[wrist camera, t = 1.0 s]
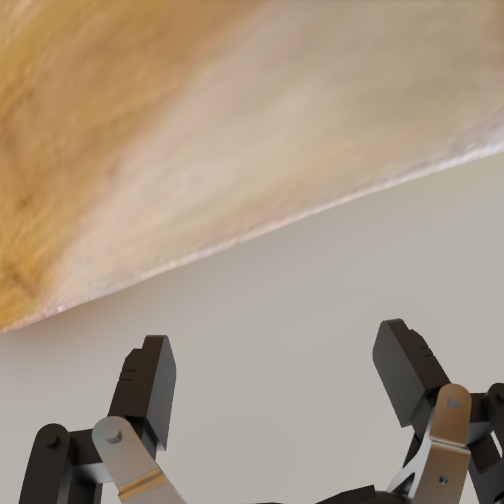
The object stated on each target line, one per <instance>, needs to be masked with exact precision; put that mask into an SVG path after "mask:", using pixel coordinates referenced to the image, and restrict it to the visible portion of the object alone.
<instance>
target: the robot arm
mask: <svg viewBox="0 0 504 504" xmlns="http://www.w3.org/2000/svg"><path fill="white" fill-rule="evenodd" d="M373 362H374V365H375V367H376V369H377V371H378V373H379V376H380V378H381V380H382V382H383V385H384V387H385V389H386V392H387V394H388V396H389V398H390V401H391V403H392V406H393V408H394V410H395V413H396V415H397V417H398V420H399V422H400V425H401V427H402V428H403V427H406V426H409V425H412V426H413V429H414V430H413V432H412V433H411V437H410V439H409V442H408V445H407V448H406V451H405V453H404V456H403V459H402V461H401V464H400V466H399V469H398V471H397V473H396V475H395V477H394V478H393V480H392V481H391V483H390V485H389V486H388V488H387V490H386V491H375V488H374V485H370V486H366V487H362V488H358V489H354V490H349V491H345V492H341V493H339V494H337V495H335V496H333V497H330V498H328V499H326V500H323V501H321V502H318V503H316V504H459V501H460V497H461V494H462V490H463V487H464V483H465V478H466V475H467V470H468V471H469V473H470V476H471V479H472V482H473V485H474V488H475V491H476V494H477V497H478V500H479V504H504V383H495V384H493V385H492V386H491V387H490V389H489V390H488V392H487V393H469V392H468V391H467V389H465V388H464V387H462V386H461V385H458V384H452V383H451V382H450V381H449V379H448V377H447V375H446V374H445V372H444V370H443V369H442V367H441V365H440V364H439V362H438V361H437V359H436V357H435V356H433V353H432V351H431V349H430V348H428V345H427V343H426V342H425V340H424V339H423V337H422V336H420V335H419V334H418V333H417V332H415V331H414V330H413V329H412V330H409V329H408V327H407V326H406V324H405V323H404V321H403V320H402V319H400V318H399V319H393V320H386V321H382V323H381V324H380V328H379V331H378V335H377V338H376V341H375V344H374V348H373ZM175 381H176V365H175V361H174V357H173V353H172V350H171V346H170V343H169V339H168V337H167V335H147V336H146V337H145V340H144V343H143V347H142V349H133V350H132V351H131V353H130V354H129V355H128V356H127V357H126V359H125V362H124V364H123V367H122V372H121V374H120V377H119V381H118V383H117V386H116V389H115V393H114V396H113V399H112V403H111V406H110V409H109V413H108V415H107V417H106V418H103V419H101V420H100V421H99V422H98V423H97V424H96V425H95V426H94V428H92V429H88V430H81V431H73V432H68V431H67V430H66V429H65V427H63V426H62V425H59V424H55V423H54V424H48V425H45V426H44V427H42V428H41V429H40V430H39V431H38V433H37V435H36V438H35V441H34V444H33V447H32V451H31V455H30V458H29V462H28V465H27V469H26V473H25V477H24V481H23V486H22V490H21V495H20V500H19V504H100V503H101V494H102V486H103V483H107V482H114V483H115V485H116V487H117V489H118V490H119V494H118V496H119V498H120V501H121V503H122V504H187V502H186V501H185V500H184V499H183V498H182V496H181V495H180V494H179V493H178V491H177V490H176V489H175V488H174V486H173V485H172V484H171V482H170V481H169V480H168V478H167V477H166V475H165V474H164V473H163V472H162V470H161V469H160V467H159V466H158V464H157V463H156V462H155V458H156V451H157V450H159V451H166V446H167V438H168V430H169V422H170V415H171V408H172V401H173V394H174V388H175ZM493 430H494V432H495V435H496V437H497V439H498V441H499V443H500V446H501V448H502V452H503V454H502V458H501V457H500V454H499V452H498V450H497V447H496V445H495V443H494V440H493V438H492V436H491V433H492V432H493ZM258 504H281V503H273V502H272V503H258Z"/></svg>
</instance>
